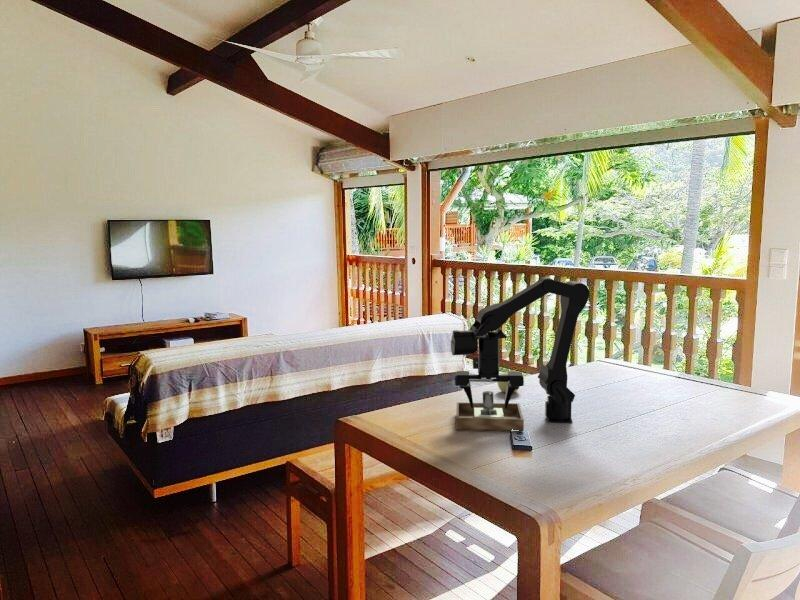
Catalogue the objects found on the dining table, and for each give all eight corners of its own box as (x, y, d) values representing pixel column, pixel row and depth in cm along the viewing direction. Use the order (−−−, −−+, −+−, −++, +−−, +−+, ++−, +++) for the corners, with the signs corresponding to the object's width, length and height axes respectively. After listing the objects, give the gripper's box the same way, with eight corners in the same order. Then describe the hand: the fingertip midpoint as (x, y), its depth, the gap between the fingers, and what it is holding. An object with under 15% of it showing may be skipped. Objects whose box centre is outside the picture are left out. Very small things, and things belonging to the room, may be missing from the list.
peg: (493, 418, 169) (493, 391, 168) (494, 422, 166) (493, 394, 165) (483, 418, 169) (482, 391, 168) (483, 422, 166) (482, 394, 165)
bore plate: (502, 416, 171) (502, 408, 171) (503, 425, 163) (504, 417, 163) (474, 415, 172) (474, 407, 172) (474, 425, 164) (474, 416, 164)
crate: (518, 414, 174) (518, 403, 173) (523, 432, 160) (523, 419, 159) (456, 413, 176) (456, 402, 175) (456, 430, 162) (456, 418, 161)
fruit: (515, 396, 191) (515, 372, 190) (494, 393, 195) (494, 369, 194) (524, 390, 198) (524, 367, 197) (503, 387, 202) (503, 364, 200)
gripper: (520, 347, 172) (519, 399, 174) (455, 347, 174) (455, 399, 176) (524, 356, 161) (523, 412, 163) (454, 356, 163) (455, 411, 165)
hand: (488, 408), depth 167 cm, fingers open, 9 cm apart
